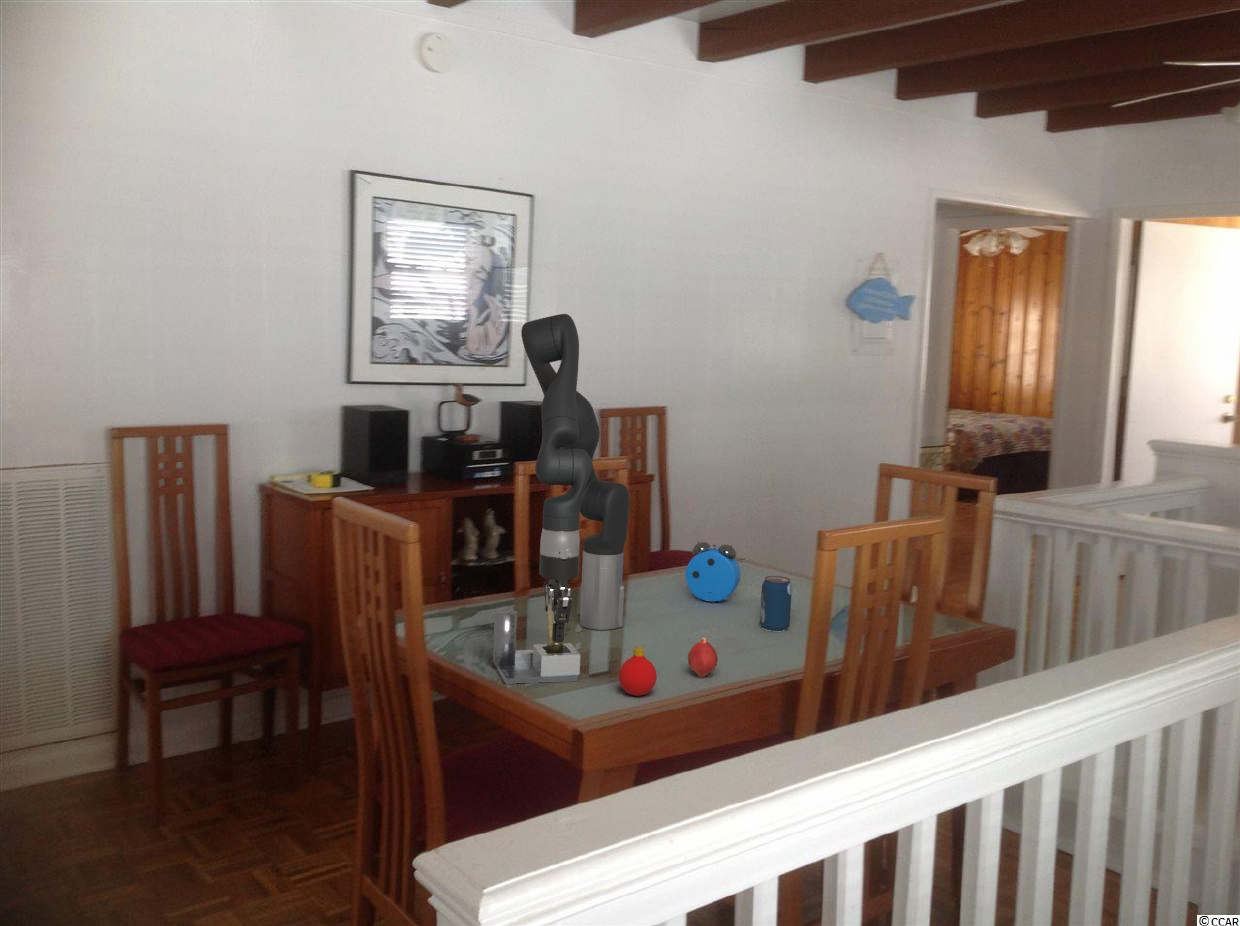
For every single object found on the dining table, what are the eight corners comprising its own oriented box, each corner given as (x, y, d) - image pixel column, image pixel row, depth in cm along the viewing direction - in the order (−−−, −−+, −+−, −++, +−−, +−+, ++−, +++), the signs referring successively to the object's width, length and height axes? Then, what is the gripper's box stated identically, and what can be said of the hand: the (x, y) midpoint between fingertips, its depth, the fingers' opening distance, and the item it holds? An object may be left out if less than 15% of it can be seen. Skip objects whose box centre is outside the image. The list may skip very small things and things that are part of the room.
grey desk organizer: (564, 661, 218) (566, 607, 217) (579, 681, 207) (582, 624, 206) (490, 665, 214) (492, 610, 213) (502, 684, 203) (504, 626, 201)
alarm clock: (739, 601, 276) (742, 543, 274) (733, 606, 270) (737, 547, 269) (690, 594, 280) (693, 538, 279) (683, 599, 275) (686, 542, 273)
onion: (685, 672, 216) (687, 633, 215) (713, 672, 216) (715, 633, 215) (689, 681, 210) (691, 641, 209) (718, 681, 211) (720, 642, 210)
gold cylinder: (544, 652, 210) (547, 602, 209) (560, 652, 211) (563, 602, 210) (548, 657, 207) (550, 606, 206) (564, 657, 208) (567, 606, 207)
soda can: (795, 629, 251) (798, 579, 250) (777, 634, 246) (781, 583, 245) (770, 623, 256) (773, 573, 255) (753, 628, 251) (756, 577, 250)
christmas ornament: (651, 688, 205) (654, 637, 204) (659, 700, 198) (662, 648, 197) (615, 688, 204) (617, 637, 203) (621, 701, 197) (623, 648, 196)
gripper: (532, 544, 212) (529, 630, 214) (548, 559, 199) (544, 650, 201) (569, 544, 214) (566, 628, 216) (587, 559, 201) (583, 649, 203)
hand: (555, 638), depth 209 cm, fingers closed on gold cylinder, 3 cm apart
